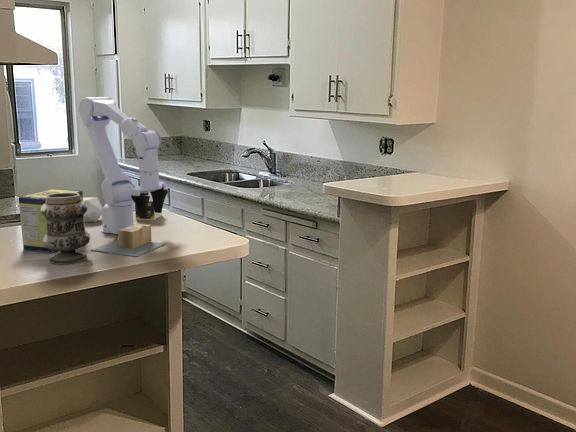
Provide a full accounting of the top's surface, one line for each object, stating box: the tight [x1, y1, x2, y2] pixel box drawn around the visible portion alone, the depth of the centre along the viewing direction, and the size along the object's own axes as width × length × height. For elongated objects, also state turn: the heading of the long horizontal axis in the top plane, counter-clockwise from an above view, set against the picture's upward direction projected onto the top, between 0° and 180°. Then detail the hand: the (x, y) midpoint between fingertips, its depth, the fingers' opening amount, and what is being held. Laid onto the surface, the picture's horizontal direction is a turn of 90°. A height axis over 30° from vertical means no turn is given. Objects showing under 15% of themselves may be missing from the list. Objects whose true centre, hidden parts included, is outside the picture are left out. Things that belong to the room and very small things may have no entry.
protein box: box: [18, 188, 86, 253], centre depth 176 cm, size 10×16×16 cm
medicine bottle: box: [134, 192, 163, 221], centre depth 211 cm, size 7×7×12 cm
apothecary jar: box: [41, 192, 91, 265], centre depth 161 cm, size 12×12×18 cm
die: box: [83, 197, 103, 223], centre depth 207 cm, size 8×9×10 cm
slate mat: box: [90, 239, 167, 258], centre depth 174 cm, size 16×14×1 cm
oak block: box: [117, 223, 152, 249], centre depth 177 cm, size 5×5×9 cm
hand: (151, 215), depth 183 cm, fingers open, 7 cm apart
